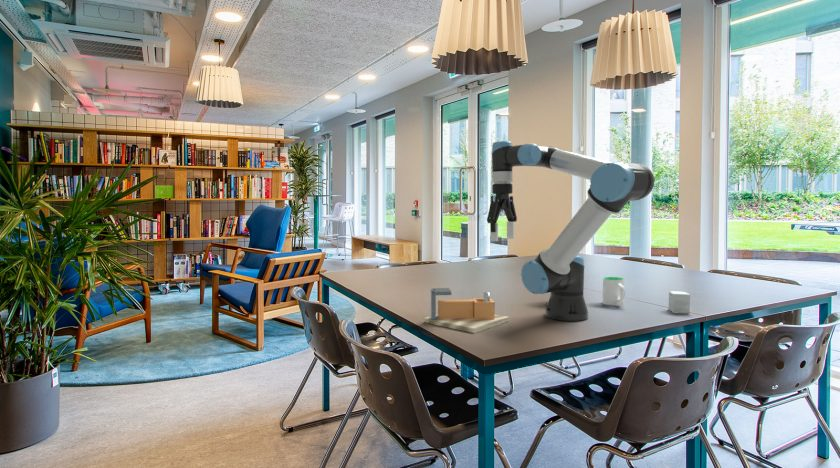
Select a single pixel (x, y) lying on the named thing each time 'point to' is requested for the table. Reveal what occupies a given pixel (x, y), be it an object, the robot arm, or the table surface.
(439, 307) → the link
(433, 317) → the keeper
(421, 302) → the table surface
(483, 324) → the board
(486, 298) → the post
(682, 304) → the product box
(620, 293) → the mug
